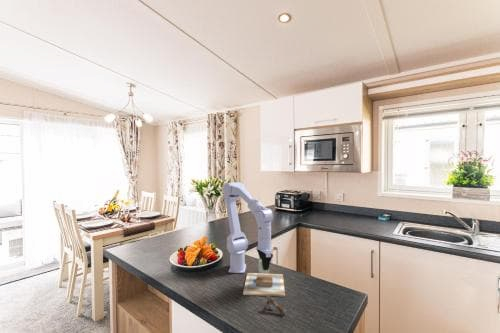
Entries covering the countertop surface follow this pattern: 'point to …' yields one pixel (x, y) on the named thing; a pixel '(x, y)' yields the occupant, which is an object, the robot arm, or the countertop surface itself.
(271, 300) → the brown triangle frame
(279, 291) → the build board
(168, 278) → the countertop surface
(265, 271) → the green block
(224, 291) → the countertop surface
